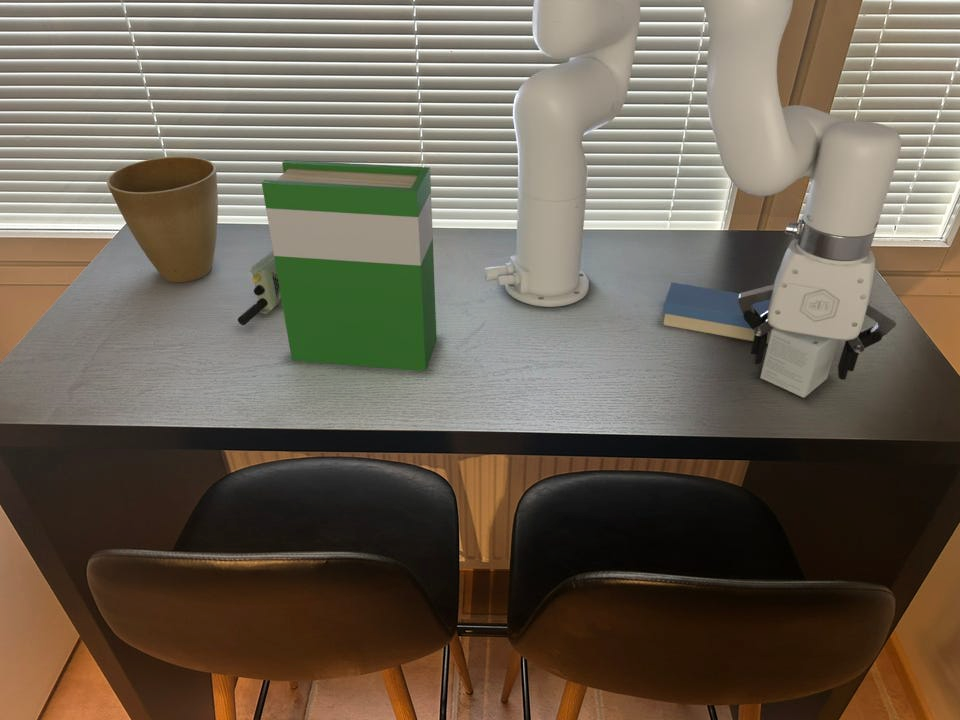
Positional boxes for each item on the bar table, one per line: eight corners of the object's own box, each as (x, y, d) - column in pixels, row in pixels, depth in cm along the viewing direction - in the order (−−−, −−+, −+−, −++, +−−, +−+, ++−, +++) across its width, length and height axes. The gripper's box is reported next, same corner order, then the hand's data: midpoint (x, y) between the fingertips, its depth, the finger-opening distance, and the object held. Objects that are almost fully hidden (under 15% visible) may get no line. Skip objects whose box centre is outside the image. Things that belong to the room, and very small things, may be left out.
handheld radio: (339, 253, 123) (254, 331, 104) (321, 251, 124) (233, 328, 105) (333, 215, 119) (243, 288, 100) (315, 213, 120) (222, 285, 101)
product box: (828, 380, 95) (844, 330, 90) (803, 400, 91) (819, 349, 87) (783, 359, 98) (796, 310, 94) (757, 377, 95) (770, 328, 91)
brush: (660, 325, 105) (664, 302, 103) (667, 305, 110) (671, 281, 108) (774, 346, 101) (780, 321, 99) (776, 323, 105) (782, 300, 103)
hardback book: (291, 360, 98) (261, 183, 84) (310, 329, 104) (284, 160, 90) (425, 371, 96) (416, 191, 82) (436, 339, 102) (430, 167, 88)
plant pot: (248, 251, 124) (230, 156, 115) (214, 297, 112) (191, 194, 102) (160, 248, 125) (135, 153, 116) (117, 292, 113) (85, 190, 103)
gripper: (750, 241, 83) (724, 369, 93) (925, 264, 78) (877, 397, 88) (754, 215, 89) (729, 338, 99) (917, 235, 84) (873, 362, 94)
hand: (799, 365), depth 93 cm, fingers open, 9 cm apart
